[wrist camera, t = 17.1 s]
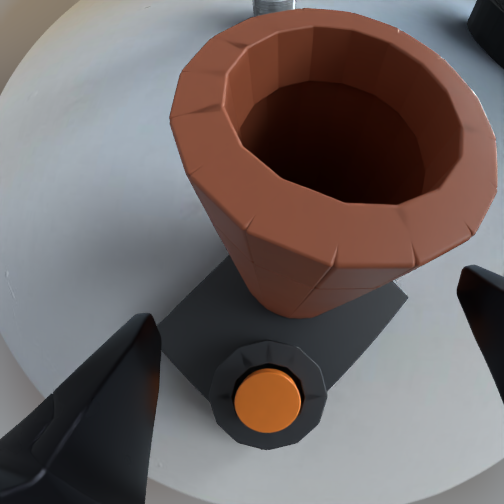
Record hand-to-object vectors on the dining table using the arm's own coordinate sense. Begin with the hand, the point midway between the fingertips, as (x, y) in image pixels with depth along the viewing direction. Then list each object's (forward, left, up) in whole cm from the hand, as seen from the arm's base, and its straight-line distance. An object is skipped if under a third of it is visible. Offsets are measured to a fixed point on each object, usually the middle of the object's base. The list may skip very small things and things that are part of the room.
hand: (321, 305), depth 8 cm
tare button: (-4, -2, -9) cm, 10 cm away
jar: (+3, +2, -10) cm, 11 cm away
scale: (-1, +1, -12) cm, 12 cm away
